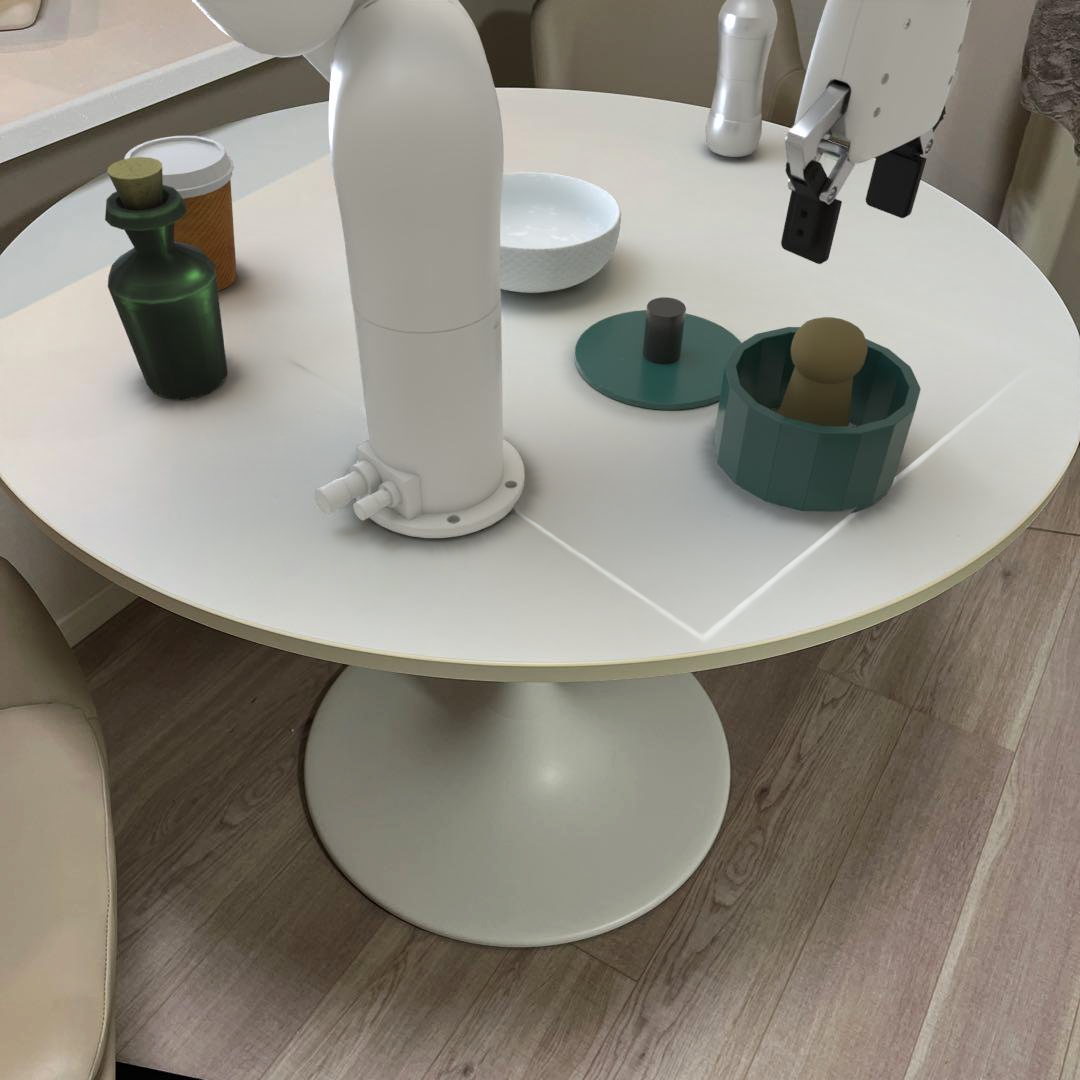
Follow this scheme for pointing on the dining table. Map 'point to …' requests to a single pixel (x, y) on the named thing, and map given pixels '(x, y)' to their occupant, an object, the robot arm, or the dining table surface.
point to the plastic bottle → (740, 76)
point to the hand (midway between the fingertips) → (846, 232)
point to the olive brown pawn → (824, 371)
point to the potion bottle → (164, 286)
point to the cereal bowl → (554, 231)
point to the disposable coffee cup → (199, 196)
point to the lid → (656, 357)
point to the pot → (812, 429)
